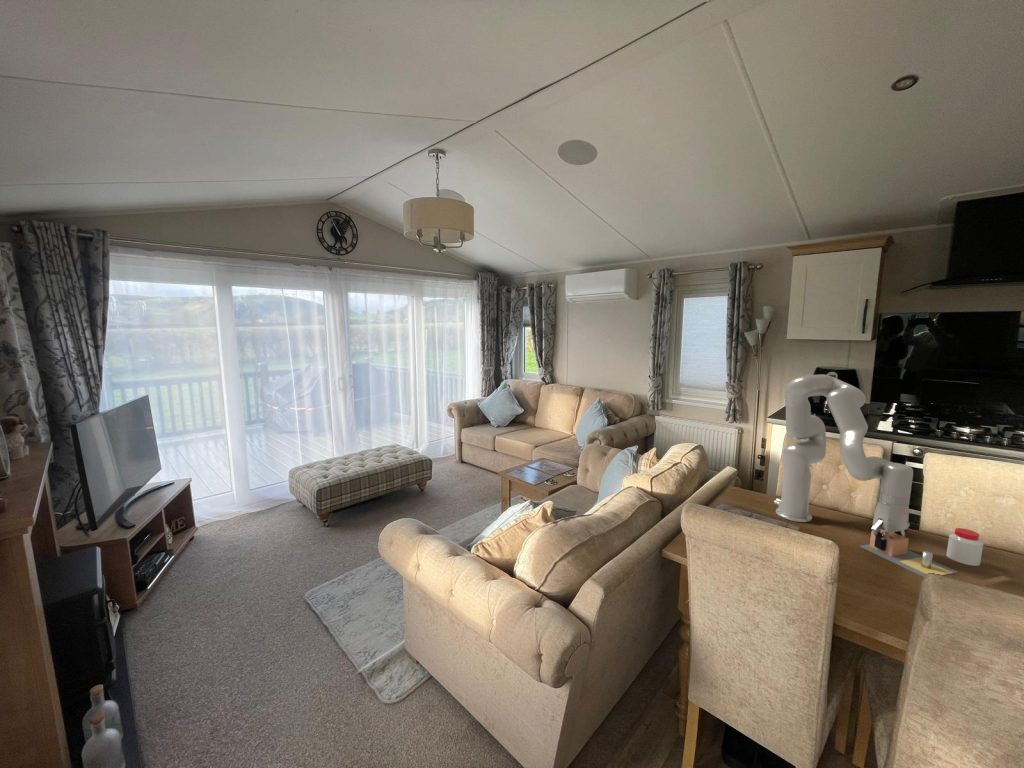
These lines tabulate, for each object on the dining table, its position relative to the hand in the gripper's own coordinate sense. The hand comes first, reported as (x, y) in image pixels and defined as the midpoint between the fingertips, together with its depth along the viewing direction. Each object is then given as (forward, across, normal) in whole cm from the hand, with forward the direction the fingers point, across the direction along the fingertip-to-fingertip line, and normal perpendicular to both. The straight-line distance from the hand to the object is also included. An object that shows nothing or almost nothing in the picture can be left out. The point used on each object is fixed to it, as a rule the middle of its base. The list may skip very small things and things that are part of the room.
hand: (888, 546), depth 144 cm
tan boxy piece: (+1, 0, 0) cm, 1 cm away
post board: (+2, 0, +6) cm, 6 cm away
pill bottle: (+3, -18, +10) cm, 21 cm away
